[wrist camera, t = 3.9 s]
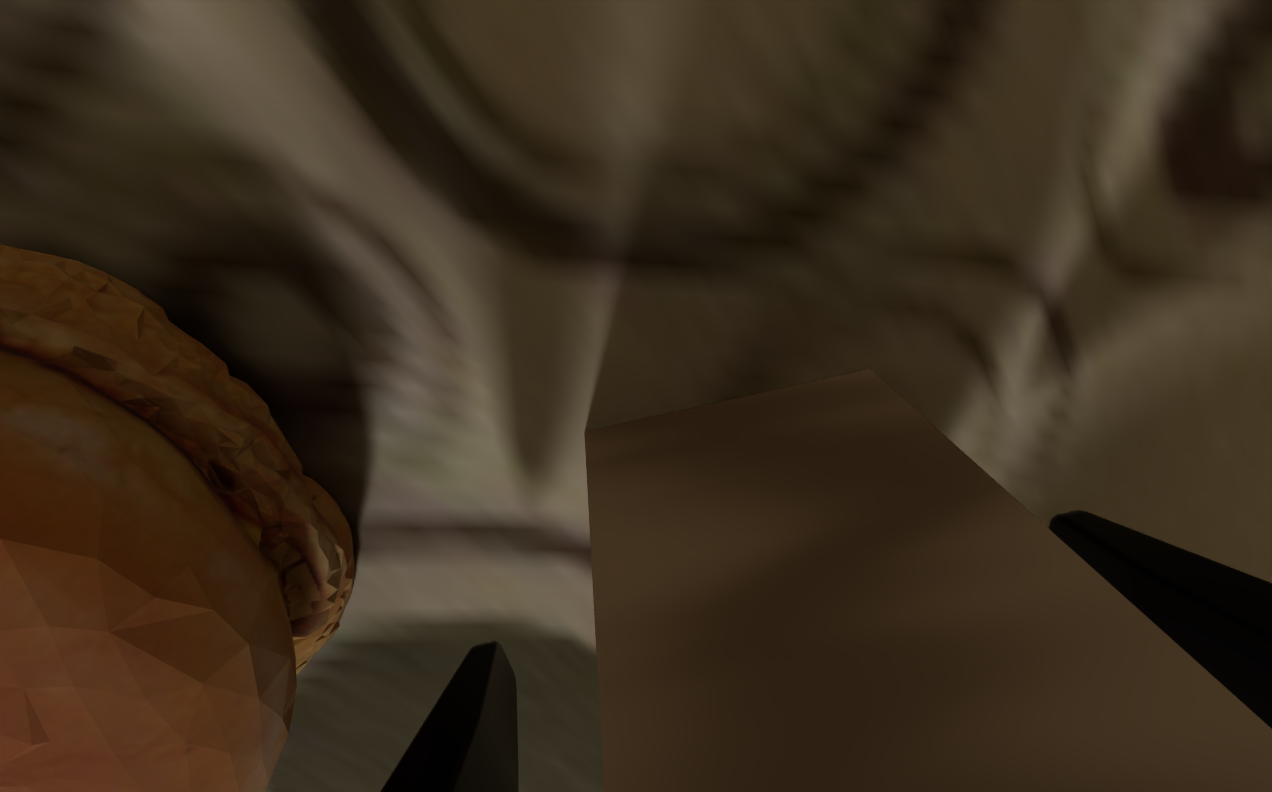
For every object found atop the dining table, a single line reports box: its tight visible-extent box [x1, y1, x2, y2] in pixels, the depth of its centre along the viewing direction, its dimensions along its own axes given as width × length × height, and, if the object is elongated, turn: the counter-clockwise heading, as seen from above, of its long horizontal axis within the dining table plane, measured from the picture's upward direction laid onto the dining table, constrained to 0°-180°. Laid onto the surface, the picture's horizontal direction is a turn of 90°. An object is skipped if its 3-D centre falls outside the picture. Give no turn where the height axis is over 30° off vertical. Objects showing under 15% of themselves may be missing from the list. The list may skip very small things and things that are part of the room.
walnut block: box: [585, 369, 1272, 792], centre depth 8 cm, size 5×5×7 cm
